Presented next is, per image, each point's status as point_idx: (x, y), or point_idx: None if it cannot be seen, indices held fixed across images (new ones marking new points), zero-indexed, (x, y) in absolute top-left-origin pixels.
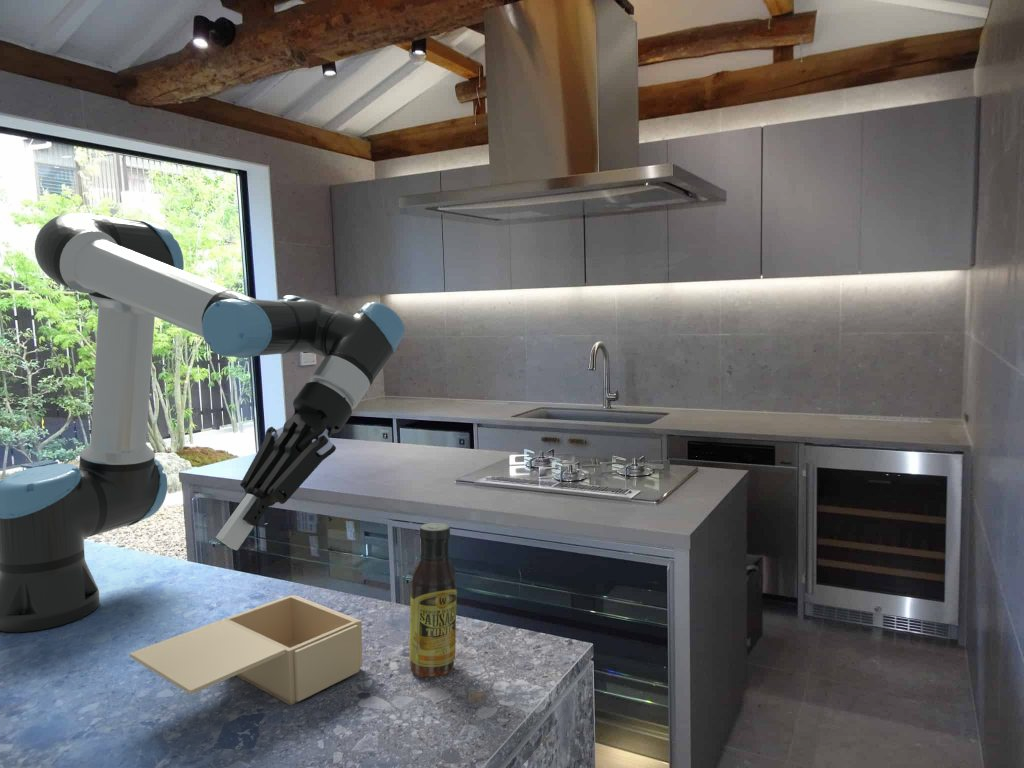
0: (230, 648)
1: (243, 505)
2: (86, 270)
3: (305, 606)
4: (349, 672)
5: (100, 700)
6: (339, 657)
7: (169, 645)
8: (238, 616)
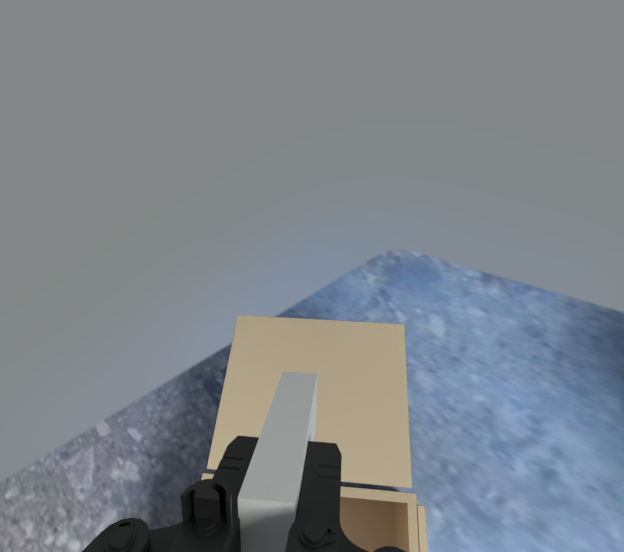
0: None
1: (271, 452)
2: None
3: None
4: None
5: (444, 340)
6: None
7: (381, 368)
8: (408, 528)
